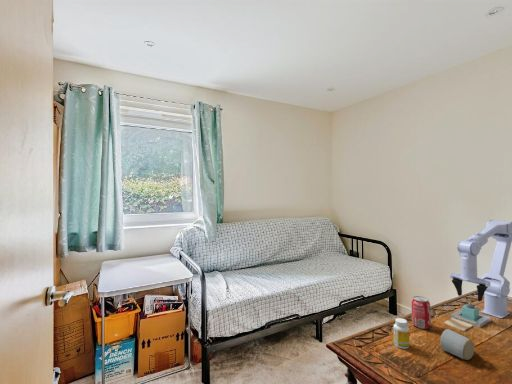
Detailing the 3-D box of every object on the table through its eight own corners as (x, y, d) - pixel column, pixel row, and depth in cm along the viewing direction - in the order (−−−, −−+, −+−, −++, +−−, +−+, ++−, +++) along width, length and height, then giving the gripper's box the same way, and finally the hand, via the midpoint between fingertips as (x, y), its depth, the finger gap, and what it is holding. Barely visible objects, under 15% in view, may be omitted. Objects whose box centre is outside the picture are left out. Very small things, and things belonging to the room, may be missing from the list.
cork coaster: (452, 318, 125) (452, 317, 125) (473, 326, 118) (473, 325, 118) (443, 323, 121) (443, 322, 121) (464, 331, 114) (464, 330, 114)
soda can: (425, 322, 123) (425, 295, 122) (434, 330, 116) (433, 302, 115) (409, 321, 123) (408, 295, 123) (416, 329, 116) (416, 301, 116)
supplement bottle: (390, 343, 107) (390, 319, 106) (399, 340, 109) (399, 315, 109) (403, 350, 102) (402, 325, 102) (412, 346, 104) (412, 321, 104)
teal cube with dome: (466, 316, 128) (466, 302, 128) (478, 319, 124) (478, 305, 124) (462, 318, 125) (461, 304, 125) (474, 322, 121) (473, 308, 121)
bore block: (462, 311, 132) (462, 308, 132) (490, 320, 123) (490, 317, 123) (450, 317, 126) (450, 314, 126) (479, 327, 117) (479, 324, 117)
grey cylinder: (465, 364, 93) (465, 341, 93) (439, 352, 100) (439, 331, 100) (480, 355, 98) (480, 334, 98) (455, 344, 105) (455, 324, 105)
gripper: (446, 265, 127) (447, 294, 127) (485, 273, 115) (485, 305, 115) (453, 263, 131) (454, 291, 131) (492, 270, 118) (492, 301, 118)
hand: (469, 297), depth 123 cm, fingers open, 7 cm apart
